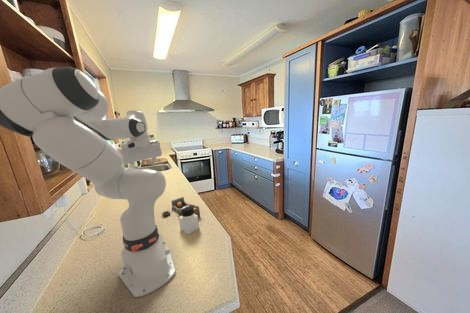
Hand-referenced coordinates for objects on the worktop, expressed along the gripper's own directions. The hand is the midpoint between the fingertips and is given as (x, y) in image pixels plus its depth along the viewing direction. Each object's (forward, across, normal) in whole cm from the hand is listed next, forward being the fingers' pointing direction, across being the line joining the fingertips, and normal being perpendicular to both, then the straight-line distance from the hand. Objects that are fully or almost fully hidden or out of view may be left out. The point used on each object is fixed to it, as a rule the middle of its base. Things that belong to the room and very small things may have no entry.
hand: (144, 167), depth 96 cm
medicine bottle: (+31, -6, +26) cm, 41 cm away
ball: (+29, -17, +1) cm, 34 cm away
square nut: (+31, -7, +2) cm, 32 cm away
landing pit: (+31, -16, +4) cm, 35 cm away
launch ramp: (+31, -14, +14) cm, 37 cm away
